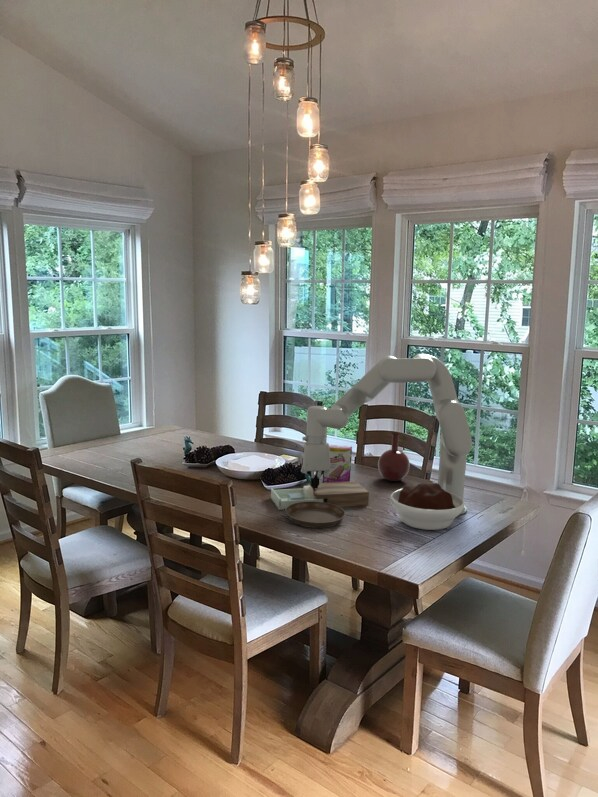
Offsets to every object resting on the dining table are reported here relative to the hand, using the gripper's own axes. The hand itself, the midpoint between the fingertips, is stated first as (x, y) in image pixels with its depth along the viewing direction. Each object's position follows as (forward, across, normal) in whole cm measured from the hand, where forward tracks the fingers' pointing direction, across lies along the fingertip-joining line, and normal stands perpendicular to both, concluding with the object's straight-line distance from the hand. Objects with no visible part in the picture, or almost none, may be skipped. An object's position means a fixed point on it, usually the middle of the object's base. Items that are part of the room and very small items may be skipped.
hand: (314, 487), depth 253 cm
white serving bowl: (+6, +31, -30) cm, 44 cm away
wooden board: (+6, +9, 0) cm, 11 cm away
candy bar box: (+6, +15, +18) cm, 24 cm away
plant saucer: (+6, -5, -18) cm, 20 cm away
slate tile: (+3, -7, 0) cm, 8 cm away
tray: (+6, -7, 0) cm, 9 cm away
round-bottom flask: (+6, +41, +21) cm, 46 cm away
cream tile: (+2, -1, 0) cm, 3 cm away
